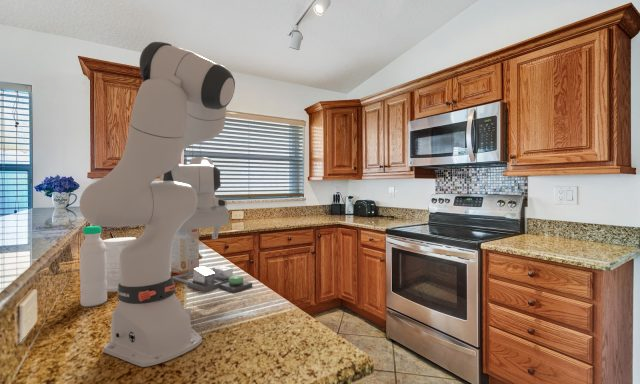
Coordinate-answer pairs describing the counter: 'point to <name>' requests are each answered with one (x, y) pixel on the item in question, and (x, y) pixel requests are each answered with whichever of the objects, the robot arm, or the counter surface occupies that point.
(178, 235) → the cracker box
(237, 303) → the counter surface
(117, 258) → the decorative container
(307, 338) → the counter surface
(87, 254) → the water bottle
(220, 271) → the block
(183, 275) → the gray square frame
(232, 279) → the button
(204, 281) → the billet
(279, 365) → the counter surface
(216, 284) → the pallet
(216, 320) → the counter surface
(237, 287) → the console
